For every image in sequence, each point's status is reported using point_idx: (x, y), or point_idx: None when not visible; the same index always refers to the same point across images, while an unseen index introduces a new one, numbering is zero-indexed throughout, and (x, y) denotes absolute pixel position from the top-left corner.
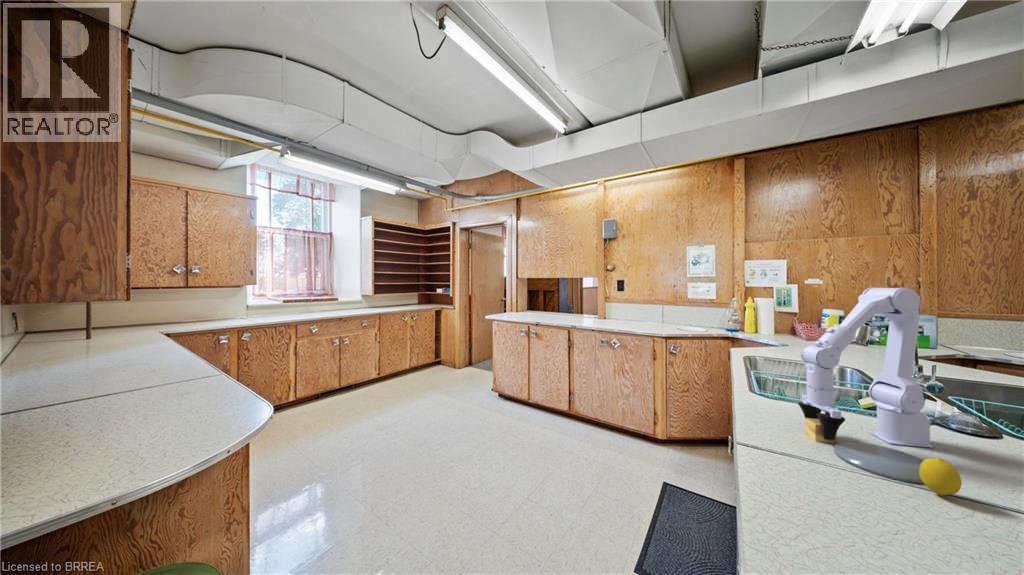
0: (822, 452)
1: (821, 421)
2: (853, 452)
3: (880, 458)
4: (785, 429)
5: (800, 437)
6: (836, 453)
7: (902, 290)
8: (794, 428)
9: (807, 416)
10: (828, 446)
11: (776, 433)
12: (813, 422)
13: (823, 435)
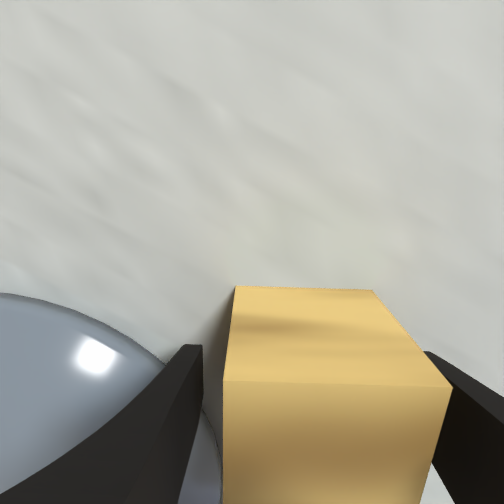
0: (38, 228)
1: (84, 470)
2: (35, 399)
3: (7, 480)
4: (458, 178)
5: (295, 216)
6: (20, 302)
7: None
8: (478, 266)
9: (493, 432)
10: (167, 323)
11: (358, 31)
12: (295, 395)
13: (188, 355)
